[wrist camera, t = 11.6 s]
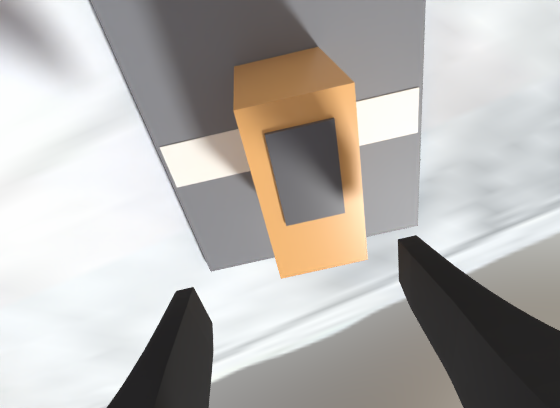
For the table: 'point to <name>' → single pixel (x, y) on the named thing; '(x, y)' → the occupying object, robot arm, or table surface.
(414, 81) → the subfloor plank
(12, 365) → the table surface
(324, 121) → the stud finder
